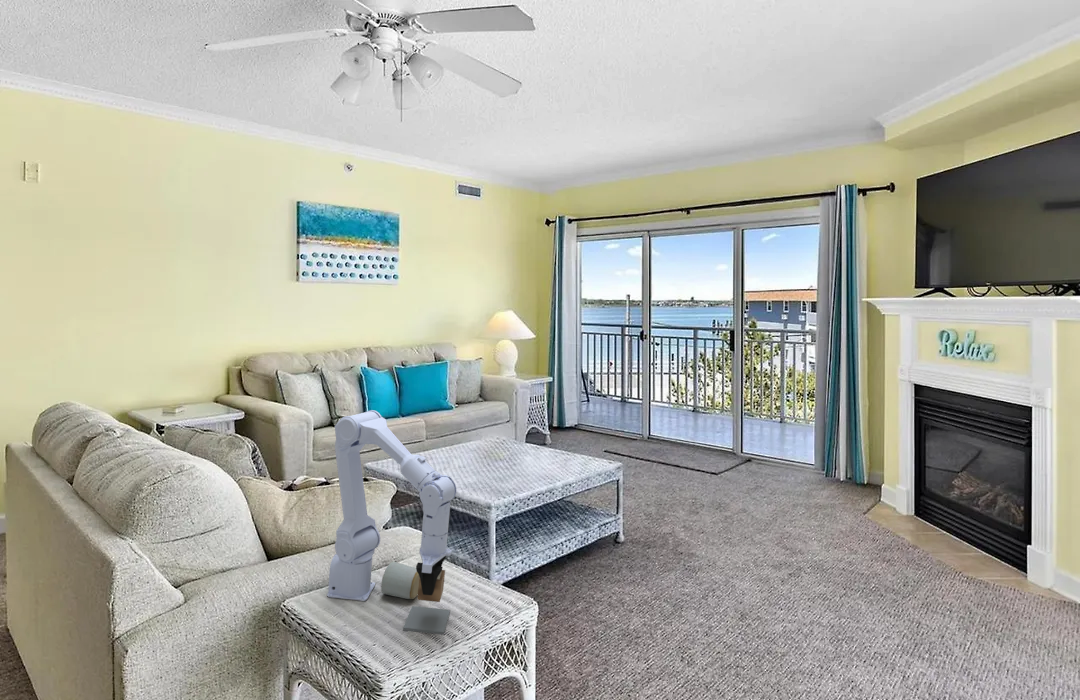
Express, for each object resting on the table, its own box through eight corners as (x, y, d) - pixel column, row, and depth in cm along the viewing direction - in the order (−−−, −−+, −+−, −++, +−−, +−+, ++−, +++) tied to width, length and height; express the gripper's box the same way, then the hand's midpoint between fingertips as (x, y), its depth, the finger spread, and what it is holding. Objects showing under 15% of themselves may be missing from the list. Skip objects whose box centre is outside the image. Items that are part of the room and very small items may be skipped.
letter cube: (417, 599, 139) (419, 577, 138) (421, 588, 144) (423, 566, 143) (439, 602, 139) (441, 579, 138) (443, 590, 144) (445, 568, 143)
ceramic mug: (411, 606, 148) (414, 575, 147) (379, 599, 149) (381, 568, 148) (427, 585, 158) (430, 556, 157) (397, 579, 160) (399, 550, 159)
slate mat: (403, 630, 138) (403, 627, 138) (412, 608, 147) (412, 605, 147) (443, 634, 138) (443, 631, 138) (450, 612, 147) (450, 609, 147)
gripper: (447, 547, 132) (442, 606, 134) (457, 519, 147) (452, 574, 149) (414, 543, 132) (409, 603, 134) (427, 516, 147) (423, 570, 149)
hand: (430, 587), depth 141 cm, fingers closed on letter cube, 5 cm apart
